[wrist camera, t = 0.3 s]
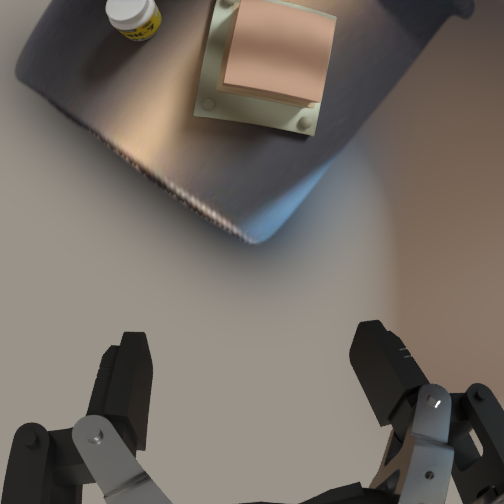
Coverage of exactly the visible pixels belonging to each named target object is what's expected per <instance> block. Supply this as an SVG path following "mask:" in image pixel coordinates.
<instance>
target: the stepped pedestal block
mask: <svg viewBox="0 0 504 504" xmlns="http://www.w3.org/2000/svg"><path fill="white" fill-rule="evenodd" d="M336 18H337V17H335V16H332V15H329V14H326V13H323V12H320V11H316V10H313V9H310V8H306V7H303V6H299V5H295V4H291V3H287V2H283V1H279V0H217V1H216V5H215V9H214V13H213V17H212V22H211V26H210V30H209V35H208V39H207V44H206V49H205V54H204V59H203V64H202V69H201V74H200V80H199V85H198V91H197V96H196V102H195V108H194V114H193V116H199V117H208V118H216V119H223V120H230V121H237V122H244V123H250V124H256V125H262V126H267V127H273V128H278V129H283V130H288V131H293V132H298V133H302V134H307V135H311V136H314V133H315V129H316V124H317V119H318V114H319V109H320V104H321V99H322V94H323V89H324V84H325V79H326V74H327V68H328V63H329V58H330V52H331V47H332V41H333V36H334V30H335V24H336Z"/></svg>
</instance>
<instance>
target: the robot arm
mask: <svg viewBox="0 0 504 504" xmlns="http://www.w3.org/2000/svg"><path fill="white" fill-rule="evenodd" d="M349 357H350V363H351V365H352V367H353V369H354V371H355V373H356V375H357V377H358V380H359V382H360V384H361V386H362V388H363V390H364V392H365V394H366V396H367V398H368V400H369V403H370V405H371V407H372V409H373V411H374V413H375V415H376V418H377V420H378V422H379V424H380V426H381V427H382V426H386V425H389V424H391V425H392V427H393V429H392V431H391V433H390V436H389V440H388V443H387V446H386V449H385V453H384V455H383V459H382V462H381V465H380V468H379V470H378V472H377V474H376V476H375V477H374V478H373V480H372V482H371V484H370V486H369V488H362V486H361V483H360V482H357V483H353V484H350V485H346V486H342V487H338V488H335V489H330V490H328V491H326V492H324V493H322V494H320V495H318V496H316V497H313V498H311V499H309V500H307V501H305V502H302V503H299V504H445V500H446V496H447V491H448V487H449V481H450V476H451V475H452V477H453V480H454V482H455V485H456V487H457V490H458V492H459V494H460V497H461V500H462V502H463V504H504V411H503V409H502V407H501V405H500V404H499V402H498V401H497V399H496V398H495V396H494V394H493V393H492V391H491V390H490V389H489V388H488V387H487V386H485V385H483V384H480V383H474V384H472V385H471V386H470V387H469V388H468V389H467V391H466V392H465V393H449V392H448V391H447V390H446V389H445V388H443V387H442V386H440V385H438V384H433V383H429V381H428V380H427V378H426V377H425V375H424V373H423V372H422V371H421V369H420V368H419V366H418V364H417V363H416V361H415V360H414V358H413V357H411V354H410V352H409V351H408V350H407V349H406V346H405V345H404V344H403V342H402V341H401V339H400V338H399V337H397V336H396V335H395V334H394V333H392V332H391V331H387V330H386V329H385V327H384V326H383V324H382V323H381V322H380V321H379V320H372V321H364V322H360V323H359V325H358V327H357V330H356V333H355V336H354V339H353V342H352V345H351V348H350V352H349ZM99 367H100V369H99V370H98V373H97V378H96V380H95V384H94V388H93V391H92V395H91V399H90V403H89V407H88V411H87V414H86V416H85V417H83V418H81V419H80V420H78V422H77V423H76V424H75V425H74V427H72V428H68V429H62V430H54V431H47V430H46V429H45V428H44V427H43V426H41V425H40V424H38V423H26V424H24V425H22V426H21V427H19V429H18V430H17V431H16V433H15V435H14V439H13V443H12V447H11V451H10V456H9V460H8V465H7V470H6V475H5V480H4V486H3V493H2V500H1V504H82V487H83V484H89V483H96V482H97V484H98V486H99V487H100V489H101V490H102V492H103V494H104V499H105V501H106V503H107V504H173V503H172V502H171V501H170V500H169V499H168V498H167V496H166V495H165V494H164V493H163V492H162V491H161V489H160V488H159V487H158V486H157V485H156V484H155V483H154V481H153V480H152V479H151V477H150V476H149V475H148V474H147V473H146V472H145V471H144V470H143V468H142V467H141V465H140V464H139V463H138V461H137V460H136V450H142V451H145V449H146V436H147V424H148V413H149V404H150V395H151V387H152V379H153V364H152V359H151V355H150V351H149V347H148V342H147V338H146V334H145V333H144V332H124V333H123V336H122V340H121V343H120V346H116V345H111V346H110V347H109V349H108V350H107V351H106V352H105V353H104V354H103V356H102V360H101V363H100V366H99ZM472 429H474V430H475V433H476V434H477V436H478V438H479V440H480V442H481V444H482V446H483V455H482V457H481V456H480V454H479V452H478V450H477V448H476V446H475V444H474V442H473V440H472V438H471V436H470V434H469V432H470V431H471V430H472ZM241 504H283V503H270V502H269V503H268V502H253V503H241Z"/></svg>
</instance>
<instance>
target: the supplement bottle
mask: <svg viewBox="0 0 504 504" xmlns="http://www.w3.org/2000/svg"><path fill="white" fill-rule="evenodd" d="M106 13H107V15H108V16H109V20H110V23H111V24H112V25H113V26H114V27H115V28H116V29H117V30H118V31H120V32H121V33H122V34H123V35H124V36H125V37H127V38H128V39H130V40H133V41H143V40H147V39H149V38H151V37H152V36H154V35H155V34H156V33H157V32H158V31H159V29H160V27H161V24H162V16H161V14H160V12H159V10H158V8H157V6H156V4H155V1H154V0H108V1H107V3H106Z"/></svg>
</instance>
